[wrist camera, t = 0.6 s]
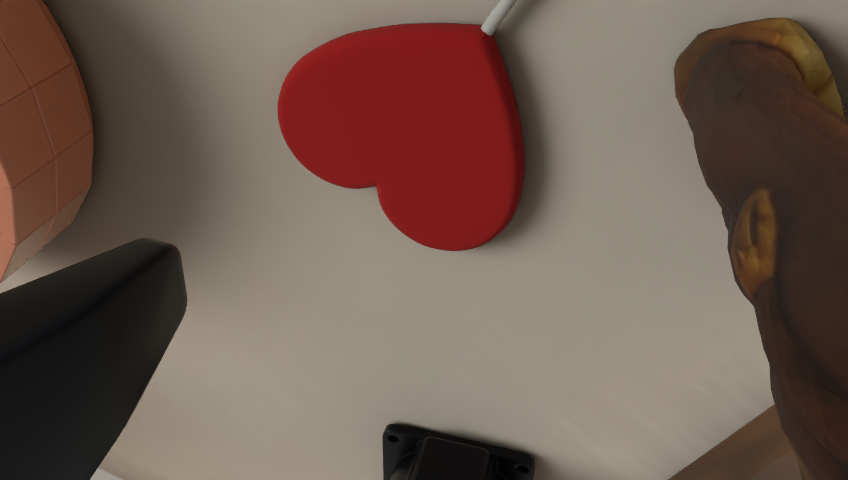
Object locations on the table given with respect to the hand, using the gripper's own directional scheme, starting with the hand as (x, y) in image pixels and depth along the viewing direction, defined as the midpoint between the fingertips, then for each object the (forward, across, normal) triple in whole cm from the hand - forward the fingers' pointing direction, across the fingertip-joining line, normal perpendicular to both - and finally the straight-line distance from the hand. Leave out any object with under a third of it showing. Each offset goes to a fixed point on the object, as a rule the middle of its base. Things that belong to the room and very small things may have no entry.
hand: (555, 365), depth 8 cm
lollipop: (+13, +3, 0) cm, 13 cm away
